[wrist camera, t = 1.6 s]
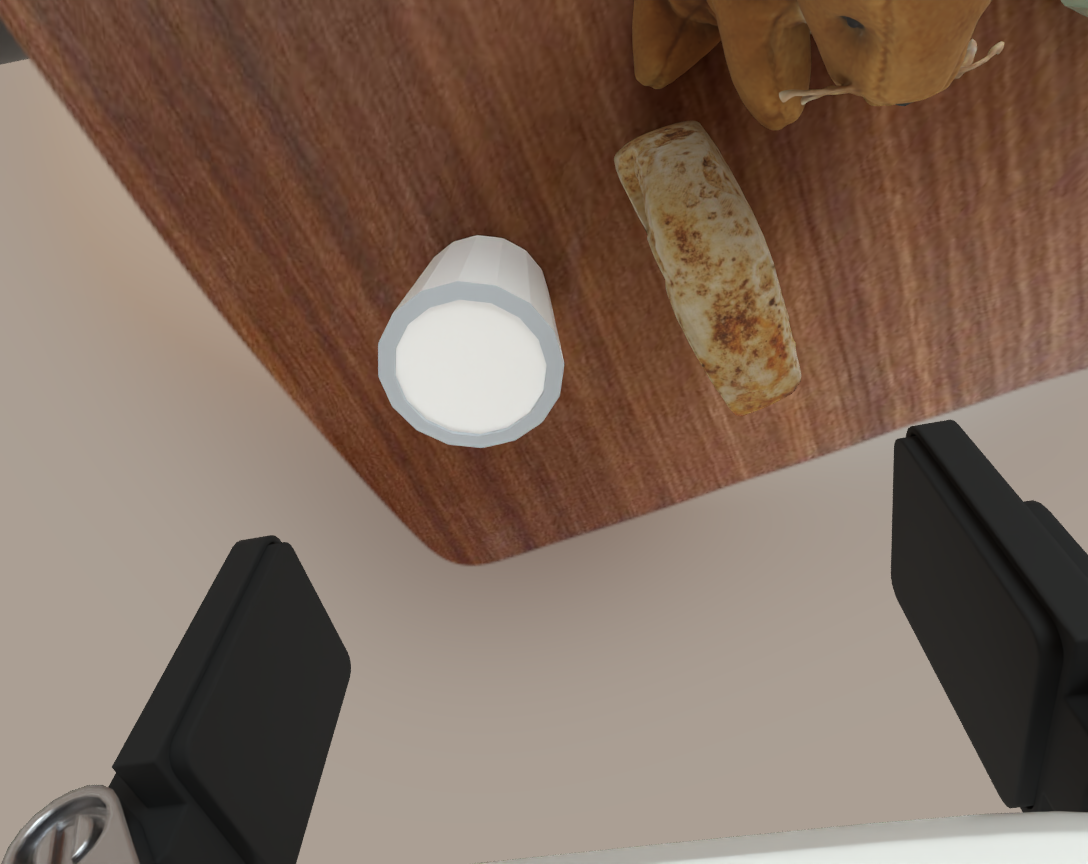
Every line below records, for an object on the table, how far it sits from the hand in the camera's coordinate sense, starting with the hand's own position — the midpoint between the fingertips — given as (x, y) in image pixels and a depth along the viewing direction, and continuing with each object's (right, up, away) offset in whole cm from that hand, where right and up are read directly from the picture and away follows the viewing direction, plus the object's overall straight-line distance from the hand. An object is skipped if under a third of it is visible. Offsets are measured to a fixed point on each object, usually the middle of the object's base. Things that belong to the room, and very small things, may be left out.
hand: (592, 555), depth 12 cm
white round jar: (-3, +8, +22) cm, 24 cm away
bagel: (+6, +11, +20) cm, 23 cm away
